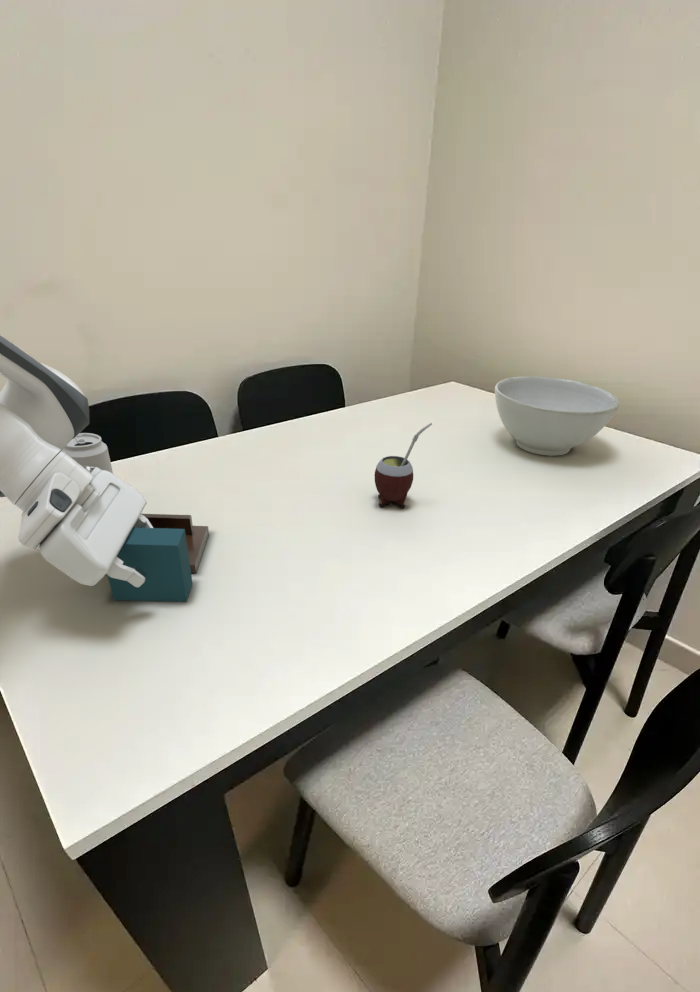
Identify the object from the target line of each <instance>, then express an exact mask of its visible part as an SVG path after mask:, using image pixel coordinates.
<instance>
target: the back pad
mask: <svg viewBox="0 0 700 992" xmlns="http://www.w3.org/2000/svg"><path fill="white" fill-rule="evenodd" d="M117 557H118V558H119V559H120V560H122V561H123V562H124V563H123V564H122V565H125V566H128V567H130V568H133V569H135V568H136V567H139V568H140V569H141V570H142V571H144V572H145V573H146V574H147V577H146V579H145V582H144V583H143V584H142V585H141V586H140V587H135V586H133V585H132V584H130V583H129V582H128V581H124V580H120V579H115V578H111V577H110V576H108V575H107V578H108V583H109V588H110V591H111V595H112V599H113V601H131V602H132V601H137V602H139V601H140V602H143V601H144V602H179V603H180V602H183V603H184V602H185V603H186V602H188V598H189V595H190V593H191V591H192V587H193V583H194V582H193V578H192V573H191V569H190V562H189V555H188V548H187V541H186V534H185V529H169V528H132V530H131V532H130V534H129V535H128V537H127V539H126V541H125V542H124V544H123V546H122V548H121V549H120V551H119V553H118V555H117Z"/></svg>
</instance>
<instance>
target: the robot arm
mask: <svg viewBox="0 0 700 992" xmlns="http://www.w3.org/2000/svg"><path fill="white" fill-rule="evenodd" d="M0 375H1V377H4V378H5V379H6V382H5V384H4V386H3V387H2V388H1V390H0V498H6V499H7V500H8V501H9V502H10V503H11V504H12V505H14V506H15V507H17V508H18V509H19V510H21V519H20V526H19V532H18V537H17V539H18V542H19V543H20V544H21V545H22V546H24V547H25V548H27V549H29V550H36V549H37V548H39V552H40V555H41V556H42V557H43V559H45V560H46V561H47V562H48V563H49V564H51V566H54V567H55V568H56V569H57V570H59V571H60V572H61V573H63V574H65V575H66V576H68V577H69V578H71V579H72V580H74V581H76V582H77V583H79V584H80V585H83V586H90V587H94V586H96V584H97V583H100V581H101V580H102V579H103V578H104V577H105V576H106V575H107V577H108V576H110V577H111V578H115V579H120V580H124V581H128V582H129V583H130V584H132V585H133V586H135V587H140V586H141V585H142V584H143V583H144V582H145V579H146V577H147V574H146V573H145V572H144V571H142V570H141V569H140V568H139V567H136V568H135V569H133V568H130V567H128V566H125V565H122V564H123V563H124V562H123V561H122V560H120V559H119V558H118V557H117V555H118V553H119V551H120V549H121V548H122V546H123V544H124V542H125V541H126V539H127V537H128V535H129V534H130V532H131V530H132V528H153V527H152V525H151V523H150V522H149V520H148V519H147V518H146V517H145V516H143V515H142V514H143V511H144V509H145V507H146V505H147V499H146V498H145V496H144V495H143V494H142V492H140V491H139V490H138V489H137V488H135V487H134V486H133V485H130V483H128V482H126V481H125V480H124V479H122V478H121V477H119V476H117V475H116V474H115V473H114V472H113V473H111V472H109V471H106V470H101V469H99V468H98V467H89V466H84V467H82V466H81V465H80V464H79V463H77V462H76V461H75V460H74V459H72V458H71V457H70V456H69V455H67V454H66V453H65V452H63V451H62V450H63V449H64V448H65V447H66V445H67V444H68V443H69V442H70V441H71V440H72V439H74V438H75V437H76V436H77V435H78V434H79V433H82V431H84V429H86V427H88V426H89V425H90V405H89V400H88V397H86V395H85V394H84V392H83V391H82V389H81V388H80V387H79V386H78V385H77V384H76V383H75V382H74V381H73V379H71V378H70V377H68V376H67V375H65V374H64V373H63V372H61V371H60V370H58V369H55V368H54V367H52V366H50V365H47V364H45V363H42V362H40V361H38V360H37V358H35V357H34V356H32V355H31V354H30V353H28V352H26V350H24V349H23V348H21V347H20V346H18V345H17V344H15V343H14V342H12V341H10V339H8V338H7V337H6V336H4V335H3V334H1V333H0ZM91 470H92V472H91Z"/></svg>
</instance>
